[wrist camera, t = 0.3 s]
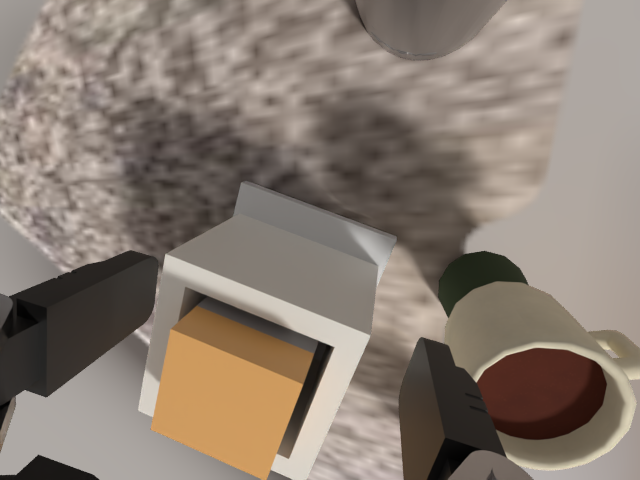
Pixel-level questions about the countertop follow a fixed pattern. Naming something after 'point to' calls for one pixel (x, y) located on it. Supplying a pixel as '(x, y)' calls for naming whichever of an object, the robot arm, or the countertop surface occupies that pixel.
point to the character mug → (537, 365)
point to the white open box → (281, 298)
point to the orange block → (231, 384)
